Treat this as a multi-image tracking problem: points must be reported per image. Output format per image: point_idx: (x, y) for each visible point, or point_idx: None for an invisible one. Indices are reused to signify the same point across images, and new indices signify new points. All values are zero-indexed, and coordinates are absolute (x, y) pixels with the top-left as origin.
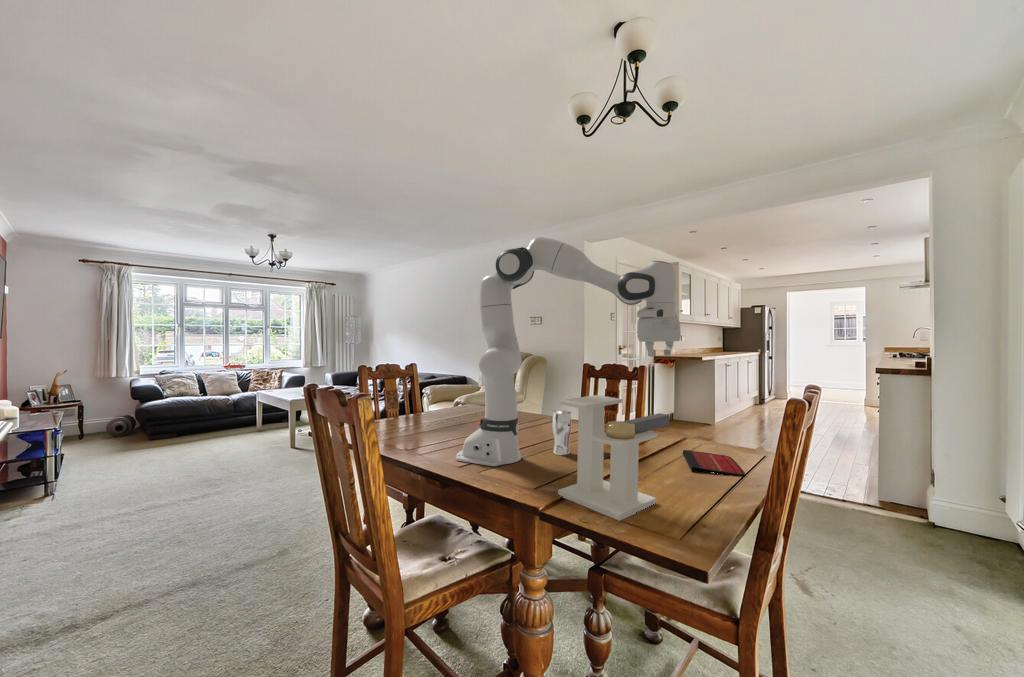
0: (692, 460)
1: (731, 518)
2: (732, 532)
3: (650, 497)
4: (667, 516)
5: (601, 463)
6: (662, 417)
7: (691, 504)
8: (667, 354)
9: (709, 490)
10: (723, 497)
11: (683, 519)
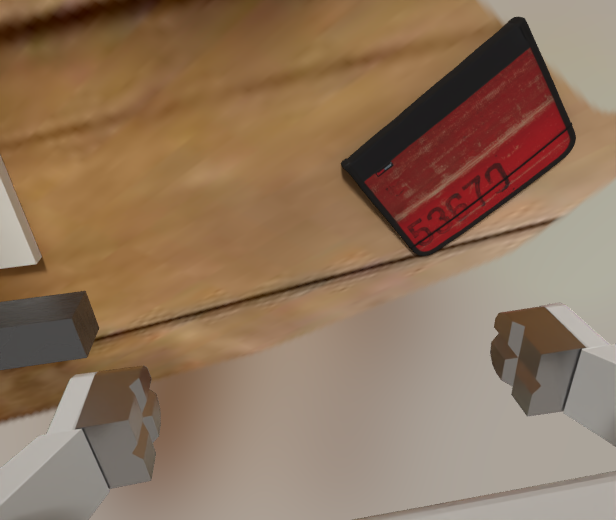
0: (413, 126)
1: None
2: None
3: (23, 255)
4: None
5: None
6: (26, 363)
7: (126, 296)
8: (498, 357)
9: (246, 268)
10: (233, 306)
11: None
